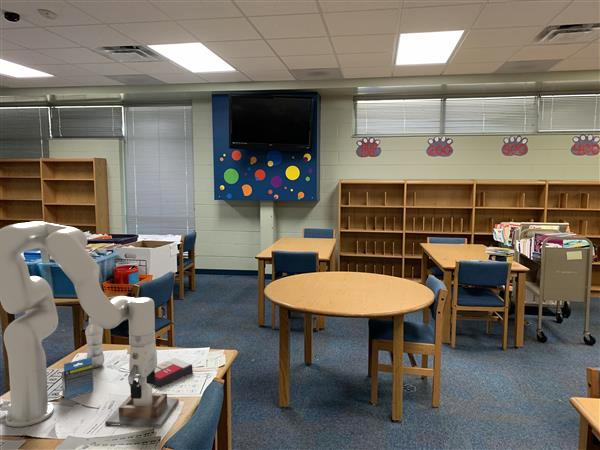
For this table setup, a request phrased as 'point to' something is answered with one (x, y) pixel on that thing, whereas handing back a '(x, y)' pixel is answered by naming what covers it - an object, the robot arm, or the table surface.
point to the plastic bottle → (94, 343)
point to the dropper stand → (144, 412)
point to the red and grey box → (171, 371)
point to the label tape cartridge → (77, 378)
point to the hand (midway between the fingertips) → (143, 390)
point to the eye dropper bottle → (144, 394)
